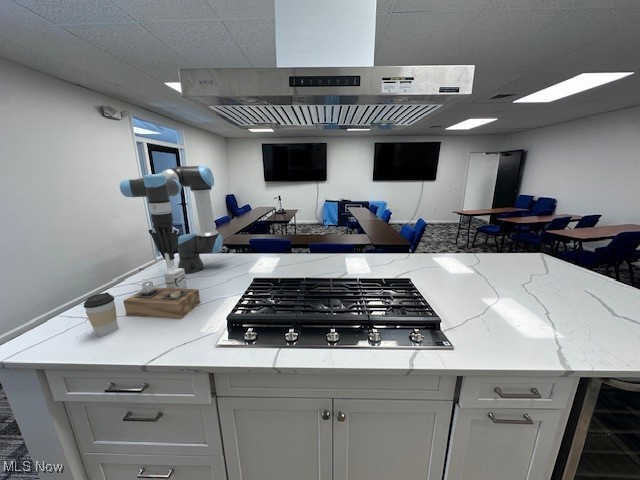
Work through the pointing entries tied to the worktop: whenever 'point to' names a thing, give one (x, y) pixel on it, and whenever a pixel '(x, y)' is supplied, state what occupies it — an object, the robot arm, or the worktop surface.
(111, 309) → the coffee cup
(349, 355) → the worktop surface
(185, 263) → the robot arm
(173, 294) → the birch dowel
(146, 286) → the steel pin
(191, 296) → the walnut block
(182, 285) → the ink box
